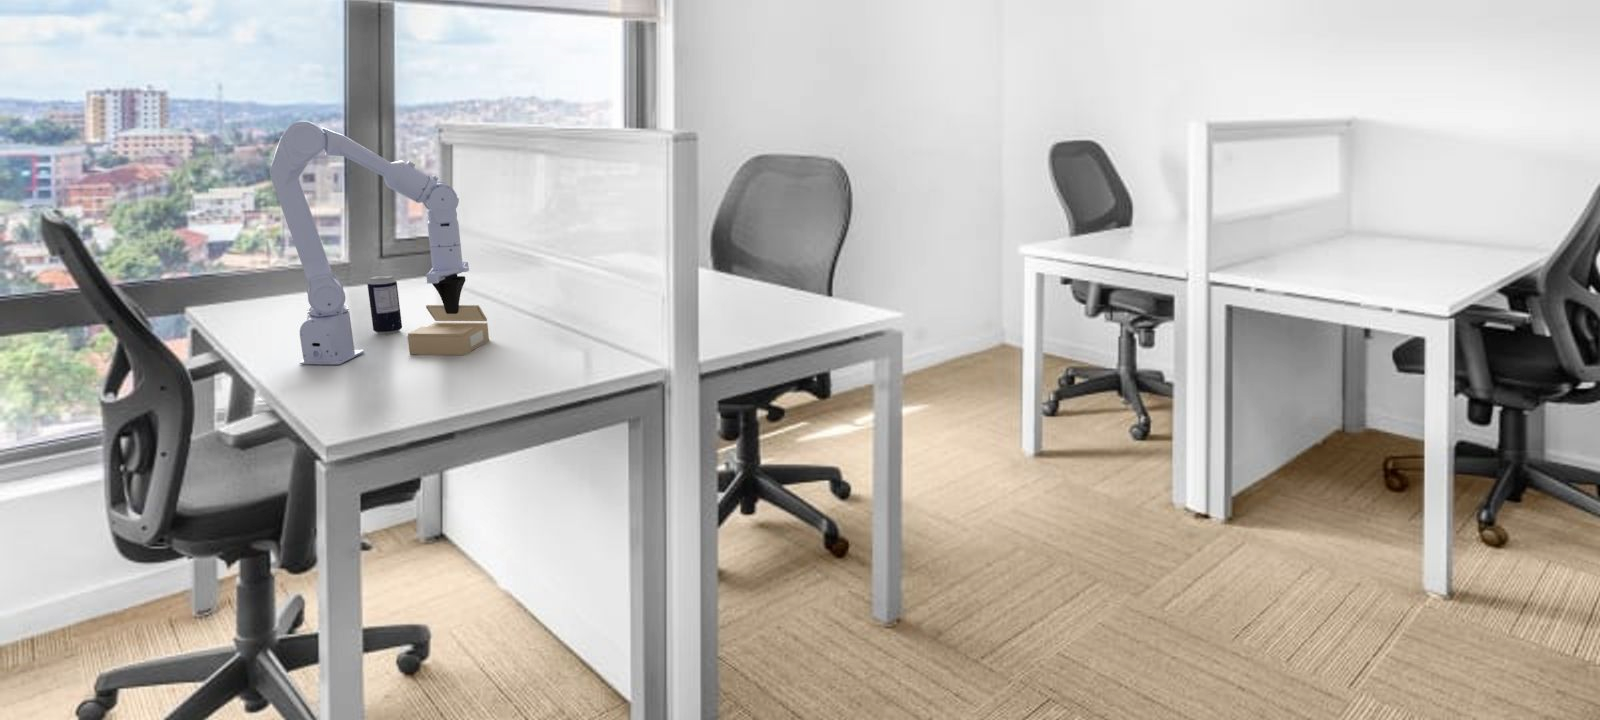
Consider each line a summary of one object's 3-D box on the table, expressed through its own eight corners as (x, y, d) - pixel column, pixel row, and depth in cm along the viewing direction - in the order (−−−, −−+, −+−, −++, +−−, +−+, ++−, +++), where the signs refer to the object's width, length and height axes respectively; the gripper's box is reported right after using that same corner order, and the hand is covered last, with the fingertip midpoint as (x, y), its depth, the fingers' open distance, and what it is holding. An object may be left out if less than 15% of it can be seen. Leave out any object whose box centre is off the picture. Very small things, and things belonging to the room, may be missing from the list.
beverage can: (407, 329, 216) (400, 274, 213) (394, 335, 211) (387, 279, 208) (382, 329, 217) (375, 274, 214) (368, 335, 211) (361, 279, 208)
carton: (465, 354, 194) (463, 333, 193) (409, 354, 195) (407, 333, 194) (489, 340, 206) (487, 320, 204) (437, 339, 207) (434, 319, 206)
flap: (478, 307, 200) (478, 305, 201) (425, 307, 201) (426, 305, 202) (486, 321, 204) (487, 319, 205) (435, 321, 205) (435, 318, 206)
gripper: (448, 250, 190) (456, 320, 194) (480, 240, 204) (486, 306, 208) (412, 250, 191) (421, 320, 194) (446, 240, 205) (453, 306, 208)
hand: (452, 313), depth 201 cm, fingers closed, pressing on flap
